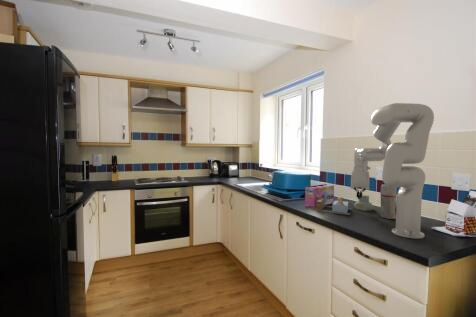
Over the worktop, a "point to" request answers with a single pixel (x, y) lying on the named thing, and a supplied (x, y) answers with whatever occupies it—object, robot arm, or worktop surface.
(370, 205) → the air freshener
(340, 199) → the dowel
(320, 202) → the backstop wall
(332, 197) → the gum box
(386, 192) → the spray can
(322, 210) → the track board
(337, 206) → the block
